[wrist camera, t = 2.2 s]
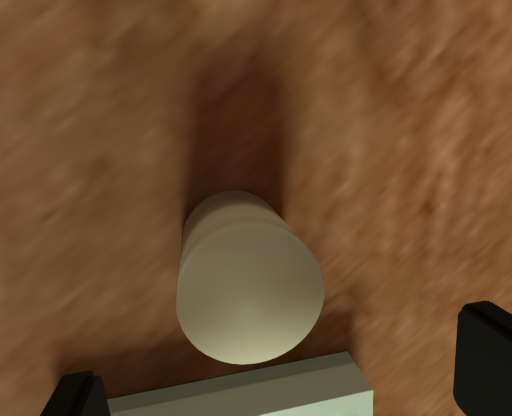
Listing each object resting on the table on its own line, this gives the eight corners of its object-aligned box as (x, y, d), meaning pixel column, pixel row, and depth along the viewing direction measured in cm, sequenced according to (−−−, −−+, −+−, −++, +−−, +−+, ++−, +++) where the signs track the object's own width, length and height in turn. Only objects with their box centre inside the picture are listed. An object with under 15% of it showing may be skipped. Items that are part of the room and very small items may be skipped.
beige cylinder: (174, 196, 16) (164, 240, 10) (278, 184, 17) (322, 218, 11) (189, 291, 17) (187, 377, 11) (284, 275, 18) (326, 349, 12)
